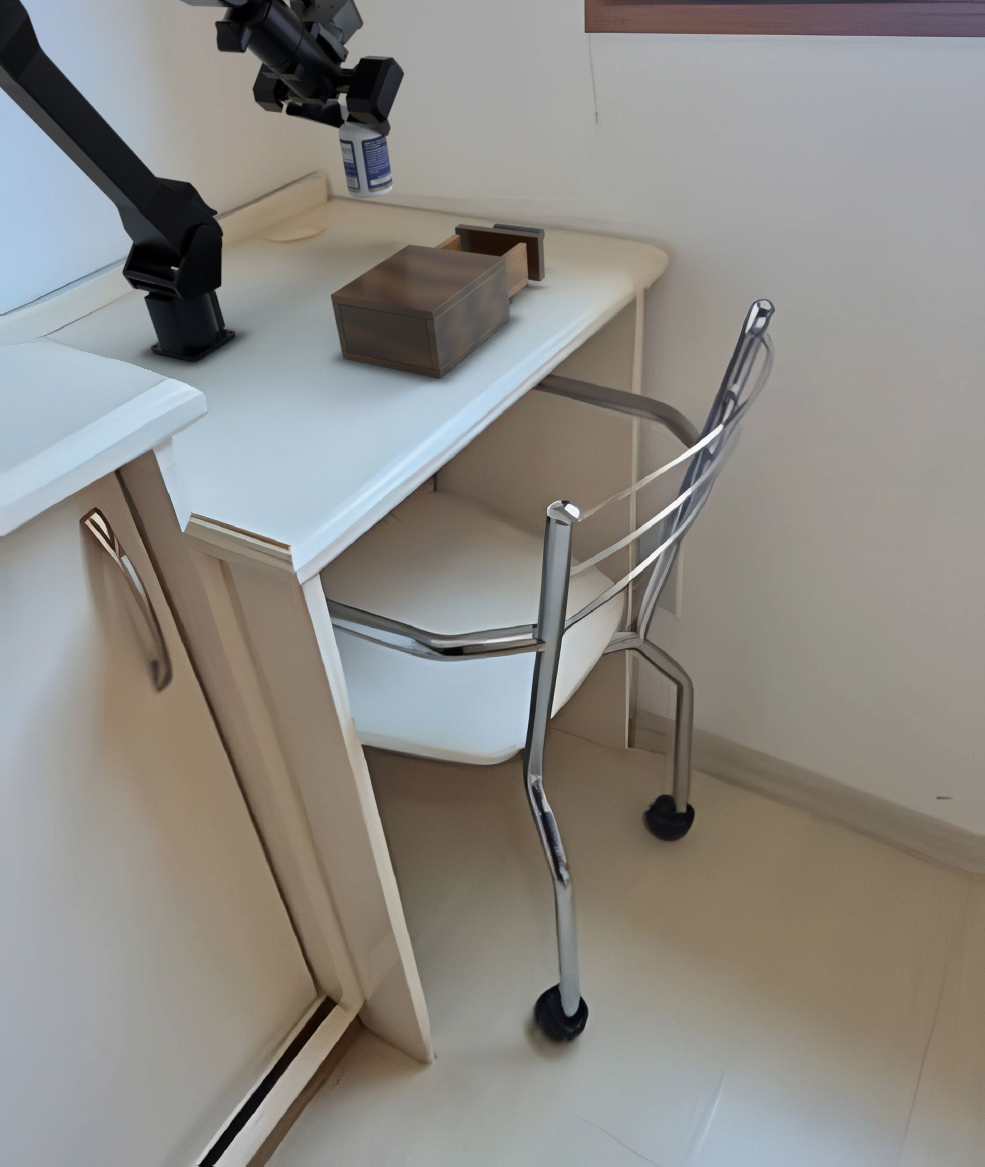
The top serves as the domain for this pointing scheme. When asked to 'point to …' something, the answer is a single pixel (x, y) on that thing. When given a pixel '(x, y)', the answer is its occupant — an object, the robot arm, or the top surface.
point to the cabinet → (422, 309)
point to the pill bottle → (364, 160)
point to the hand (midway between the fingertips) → (370, 130)
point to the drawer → (504, 249)
